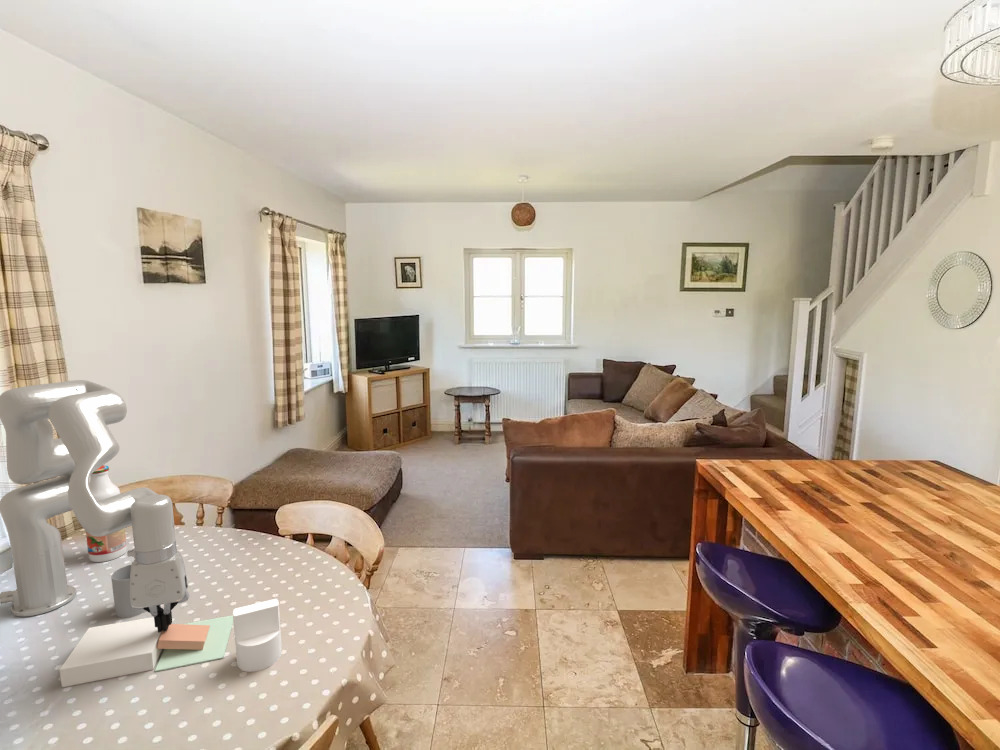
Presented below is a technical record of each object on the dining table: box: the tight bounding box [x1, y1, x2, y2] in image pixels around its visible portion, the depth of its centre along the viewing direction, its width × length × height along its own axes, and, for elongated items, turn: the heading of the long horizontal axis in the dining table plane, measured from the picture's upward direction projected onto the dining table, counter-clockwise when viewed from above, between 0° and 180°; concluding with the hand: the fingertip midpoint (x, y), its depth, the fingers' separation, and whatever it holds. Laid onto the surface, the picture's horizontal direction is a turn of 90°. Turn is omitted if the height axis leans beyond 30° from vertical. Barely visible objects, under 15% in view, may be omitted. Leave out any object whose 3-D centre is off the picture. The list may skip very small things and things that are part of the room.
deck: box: [59, 616, 164, 688], centre depth 113 cm, size 16×14×4 cm
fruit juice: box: [85, 464, 128, 563], centre depth 155 cm, size 9×9×28 cm
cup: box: [110, 564, 148, 619], centre depth 130 cm, size 8×8×10 cm
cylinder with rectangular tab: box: [232, 598, 283, 673], centre depth 112 cm, size 9×9×12 cm
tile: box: [157, 623, 210, 650], centre depth 116 cm, size 9×6×2 cm, turn 109°
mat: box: [154, 614, 234, 673], centre depth 118 cm, size 13×16×1 cm
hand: (164, 628), depth 115 cm, fingers closed
